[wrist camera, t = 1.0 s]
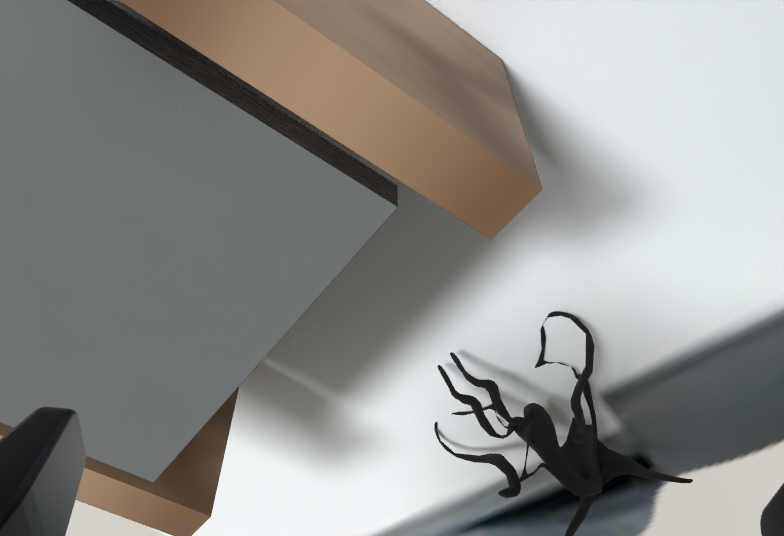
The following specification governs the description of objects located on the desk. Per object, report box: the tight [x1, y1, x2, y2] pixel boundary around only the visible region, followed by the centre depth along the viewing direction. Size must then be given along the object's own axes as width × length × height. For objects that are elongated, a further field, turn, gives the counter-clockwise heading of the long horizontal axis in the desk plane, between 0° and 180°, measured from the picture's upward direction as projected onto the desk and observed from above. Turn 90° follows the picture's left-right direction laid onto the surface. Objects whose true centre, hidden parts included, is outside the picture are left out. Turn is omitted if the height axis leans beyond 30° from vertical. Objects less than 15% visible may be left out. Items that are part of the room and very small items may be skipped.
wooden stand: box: [0, 0, 542, 536], centre depth 17 cm, size 16×15×6 cm
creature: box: [435, 312, 693, 536], centre depth 25 cm, size 8×5×8 cm
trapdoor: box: [0, 0, 398, 482], centre depth 15 cm, size 12×11×1 cm
